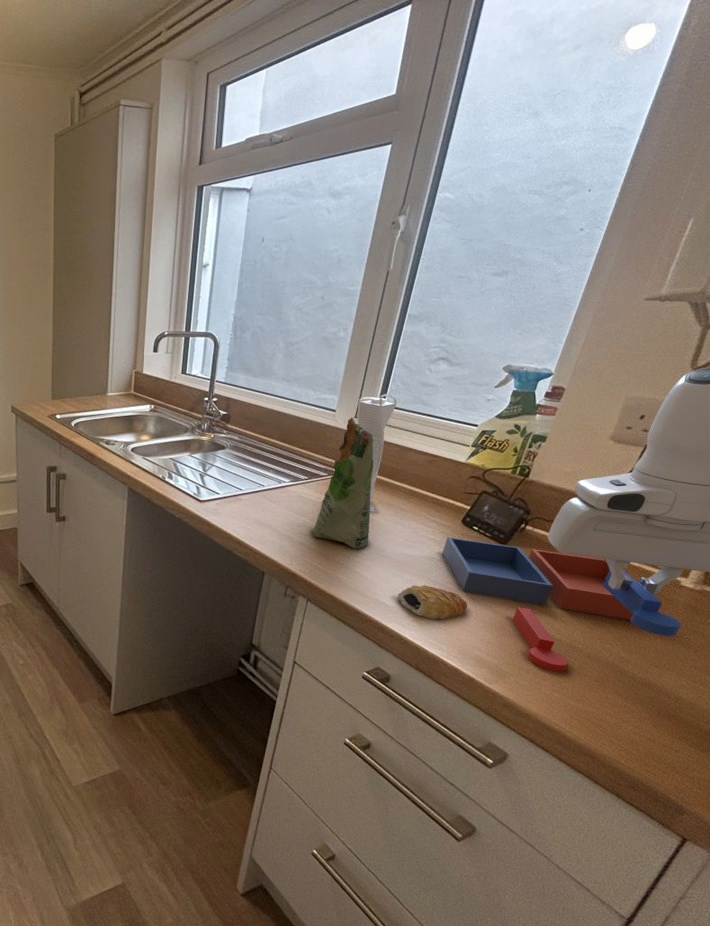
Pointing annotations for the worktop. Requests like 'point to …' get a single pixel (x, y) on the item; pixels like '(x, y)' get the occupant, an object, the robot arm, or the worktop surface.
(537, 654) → the red spoon
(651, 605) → the blue spoon
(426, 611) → the pastry
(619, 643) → the worktop surface
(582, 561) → the red bin
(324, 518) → the pouch
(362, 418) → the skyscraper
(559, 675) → the worktop surface
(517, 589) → the blue bin
